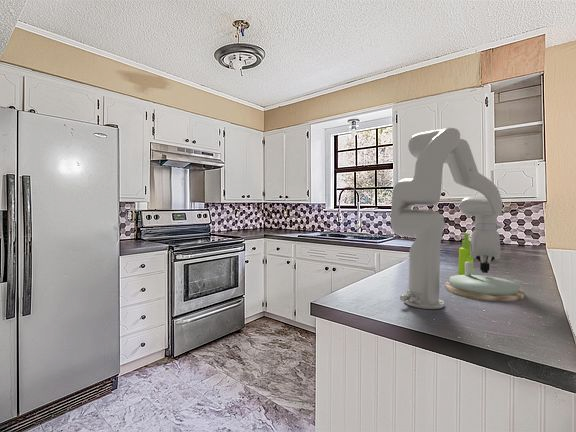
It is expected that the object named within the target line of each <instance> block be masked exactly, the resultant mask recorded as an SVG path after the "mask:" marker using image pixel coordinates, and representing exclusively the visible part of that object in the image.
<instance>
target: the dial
mask: <svg viewBox="0 0 576 432" xmlns="http://www.w3.org/2000/svg"><path fill="white" fill-rule="evenodd" d="M471 271H472V262H465V275H458V274H457V275H451V276H450V277H449V281H450V285H451V286H453V287H455V288H458V289H461V290H465V291H469V292H474V293H480V294H489V295H513V294H517V293H519V292H520V289H521V288H520V284H519V283H517V282H515V281H512V280H509V279H506V278H505V279H504V278H501V277H496V276H495V277H494V276H489V275H479V274H478V275H477V274H473V275H471Z"/></svg>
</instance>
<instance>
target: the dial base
mask: <svg viewBox="0 0 576 432" xmlns="http://www.w3.org/2000/svg"><path fill="white" fill-rule="evenodd" d="M444 287H445V290H447V291H448V292H450V293H452V294H454V295H457V296H462V297H464V298H465V297H466V298H470V299H474V300H479V301H480V300H481V301H489V302H500V303H501V302H504V303H505V302H506V303H507V302H518V301H521V300H524V299H525V296H526V295H525V291H524V290H523V289H522V288H520V292H519V293H517V294H513V295H489V294H480V293H474V292H469V291H465V290H461V289H458V288H455V287H453V286H451V285H450V280H448V281H446V282H445V284H444Z"/></svg>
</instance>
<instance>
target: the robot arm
mask: <svg viewBox="0 0 576 432" xmlns="http://www.w3.org/2000/svg"><path fill="white" fill-rule="evenodd" d="M407 148H408V150H409V153H410V154H411V155H412V156H413V157H414V158H415V159H416V162H415V164H414V165H415V167H414V176H413V178H402V179H401V180H399V181H397V182H396V184H395V185H394V187H393V189H392V194H391V207H390V208H391V210H390V227H391V230H392V232H393V233H394V234H395V235H396V236H400V237H406V238H415V240H414V241H413V243H412V244H411V246H410V248H409V252H408V259H409V260H408V264H409V265H408V289H407V293H406V294H401V295H400V296H399V300H400V301H401V302H403V303H405V304H406V305H408V306H409V307H414V308H418V309H424V310H425V309H426V310H437V309H443V307H445V301H444V300H443V299H440V275H441V244H442V243H441V242H442V237H443V233H444V229H445V218H444V217H443V215H442V214H441V213H440V212H439V211H436V210H430V209H412V207H413V206H414V207H425V206H426V207H428V206H435V205H437V204H438V203H439V202H440V199H441V195H442V183H443V167H444V164H446V165H448V169H449V170H450V174H451V176H452V179H453V181H454V182H455V183H456V184H457V185H460V186H462V187H465V188H469V189H471V190H474V191H477V192H478V193H480V194H481V195H483V196H469V197H465V198H463V199H462V200H461V201H460V203H459V210H460V212H461V213H462V214H463V215H465V216H468V217H469V216H470V217H475V218H474V219H475V220H474V221H475V222H474V230H472V233H471V236H470V237H471V238H470V239H471V240H470V241H471V245H470V252H471V254H470V257H472V258H473V259H476V260H477V261H478V262H479V270H480V271H481V273H483V274H489V271H490V264H491V263H492V262H493V261H494V260H499V259H501V239H500V233H499V231H497V230H499V229H500V230H501V229H502V225H499V224H498V221H497V220H498V216H499V215H501V213H502V211H503V199H502V197H501V193H500V191H499V188H498V187H497V186H496V184H495V183H494V182H493V181H491V179H489V178H487V177H486V176H485V175H483V174H482V173H480V172H479V171H478V167H477V165H476V161H475V158H474V156H473V153H472V149H471V146H470V144H469V142H468V141H467V140H466V139H464V138H461V132H460V130H459V129H457V128H455V127H444V128H437V129H435V130H429V131H424V132H419V133H416V134H414V135H412V136H411V137H410V139H409V141H408V147H407ZM484 256H485V259H484Z"/></svg>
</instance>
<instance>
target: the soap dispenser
mask: <svg viewBox="0 0 576 432" xmlns="http://www.w3.org/2000/svg"><path fill="white" fill-rule="evenodd" d="M460 235H462V236H463V235H464V236H463V237H464V239H463V240H462V242H461V247H459V248H458V272H457V273H458V274H457V275H465V262H472V271H471V275H474V258H472V257H470V254H471V252H470V245H471V240H469V238H470V237H469V236H471V234H470V233H468V232H461V233H460Z"/></svg>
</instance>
